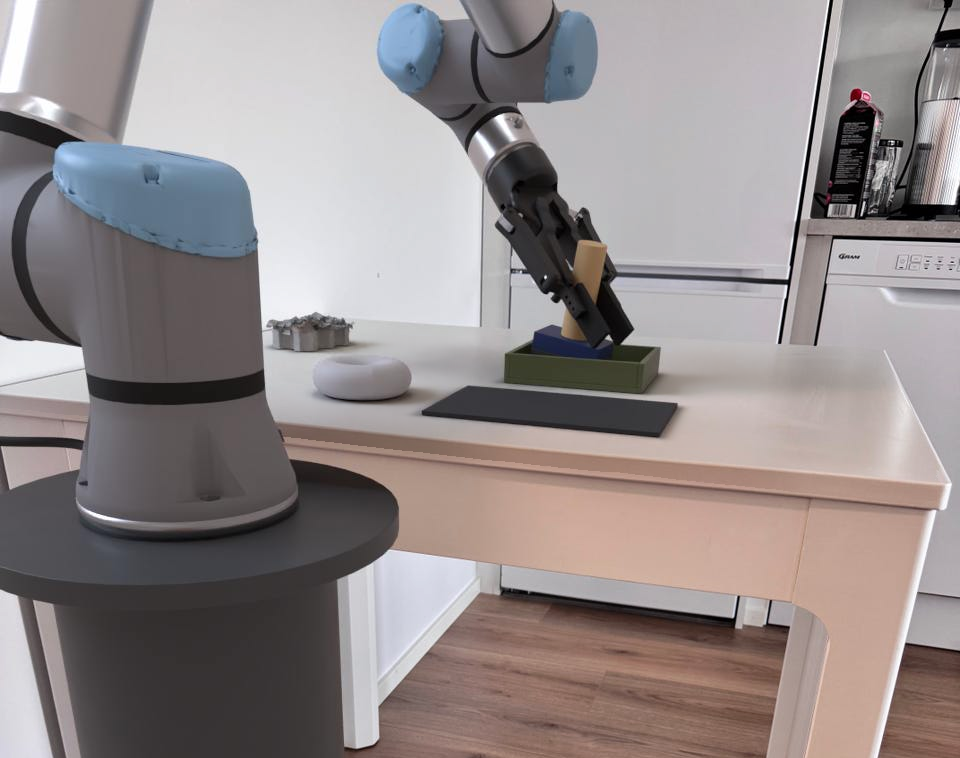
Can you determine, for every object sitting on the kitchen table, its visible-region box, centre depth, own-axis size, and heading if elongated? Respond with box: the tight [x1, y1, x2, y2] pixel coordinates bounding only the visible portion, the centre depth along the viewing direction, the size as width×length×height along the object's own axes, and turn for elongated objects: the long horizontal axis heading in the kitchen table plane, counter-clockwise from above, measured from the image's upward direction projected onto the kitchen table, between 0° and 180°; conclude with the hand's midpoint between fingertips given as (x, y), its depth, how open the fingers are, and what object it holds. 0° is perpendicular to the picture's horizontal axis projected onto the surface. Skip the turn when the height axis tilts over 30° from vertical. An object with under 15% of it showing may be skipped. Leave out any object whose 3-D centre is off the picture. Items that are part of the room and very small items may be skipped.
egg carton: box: [265, 311, 356, 352], centre depth 124 cm, size 11×8×4 cm
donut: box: [311, 354, 413, 401], centre depth 96 cm, size 10×4×10 cm
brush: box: [530, 240, 614, 360], centre depth 106 cm, size 8×5×13 cm, turn 63°
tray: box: [503, 339, 662, 395], centre depth 107 cm, size 15×13×3 cm
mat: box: [421, 385, 679, 438], centre depth 91 cm, size 22×14×1 cm, turn 73°
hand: (613, 338), depth 103 cm, fingers closed on brush, 3 cm apart
